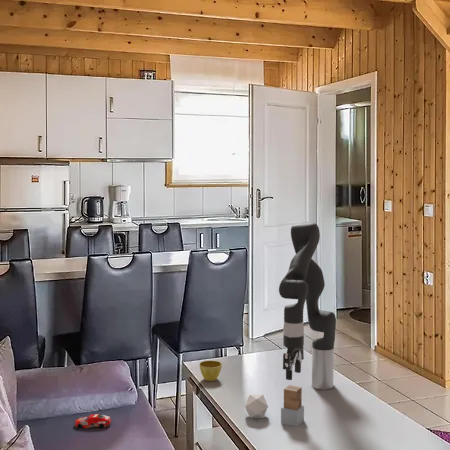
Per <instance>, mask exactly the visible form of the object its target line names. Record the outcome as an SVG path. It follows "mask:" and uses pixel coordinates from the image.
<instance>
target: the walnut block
mask: <svg viewBox="0 0 450 450" xmlns="http://www.w3.org/2000/svg"><path fill="white" fill-rule="evenodd" d="M302 390H303V387H301V386H296V385H292V384H291V385H290V384H289V385H287V386H286V387H284V388H283V406H284V408H289V409H293V410H297V409H298V408H299V407H300V406H301V405H303V403H302V399H303V398H302V397H303V396H302V393H303V391H302Z"/></svg>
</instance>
